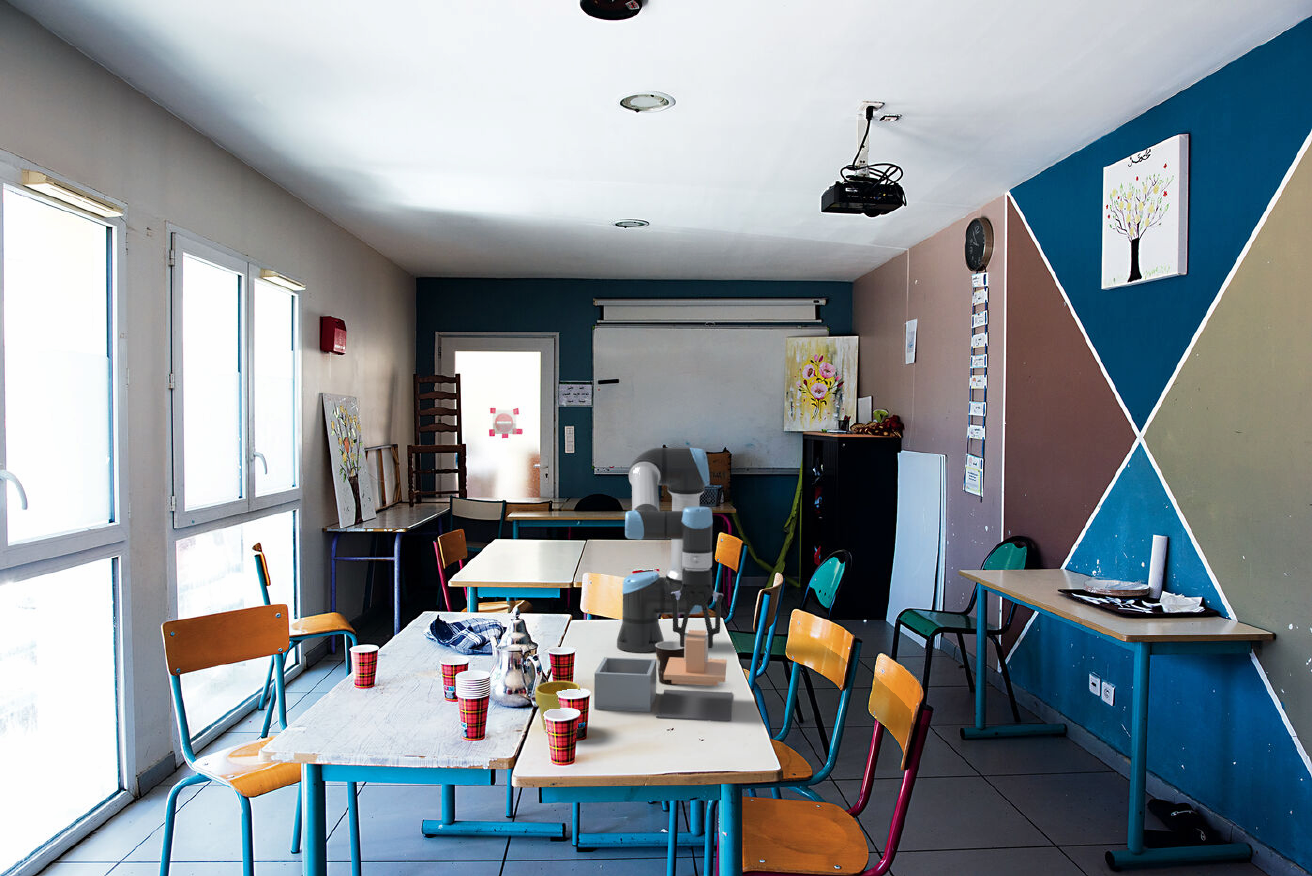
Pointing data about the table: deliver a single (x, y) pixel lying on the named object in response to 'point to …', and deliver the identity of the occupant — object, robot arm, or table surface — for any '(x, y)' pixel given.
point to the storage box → (625, 684)
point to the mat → (695, 705)
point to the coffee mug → (667, 657)
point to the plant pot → (551, 695)
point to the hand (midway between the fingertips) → (696, 660)
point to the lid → (695, 664)
